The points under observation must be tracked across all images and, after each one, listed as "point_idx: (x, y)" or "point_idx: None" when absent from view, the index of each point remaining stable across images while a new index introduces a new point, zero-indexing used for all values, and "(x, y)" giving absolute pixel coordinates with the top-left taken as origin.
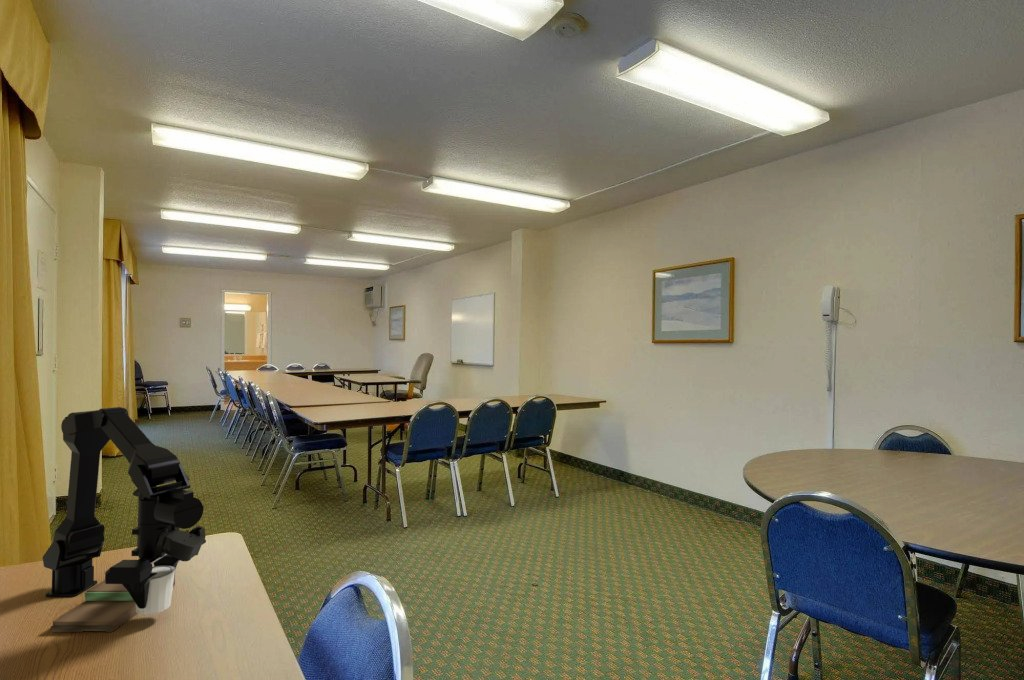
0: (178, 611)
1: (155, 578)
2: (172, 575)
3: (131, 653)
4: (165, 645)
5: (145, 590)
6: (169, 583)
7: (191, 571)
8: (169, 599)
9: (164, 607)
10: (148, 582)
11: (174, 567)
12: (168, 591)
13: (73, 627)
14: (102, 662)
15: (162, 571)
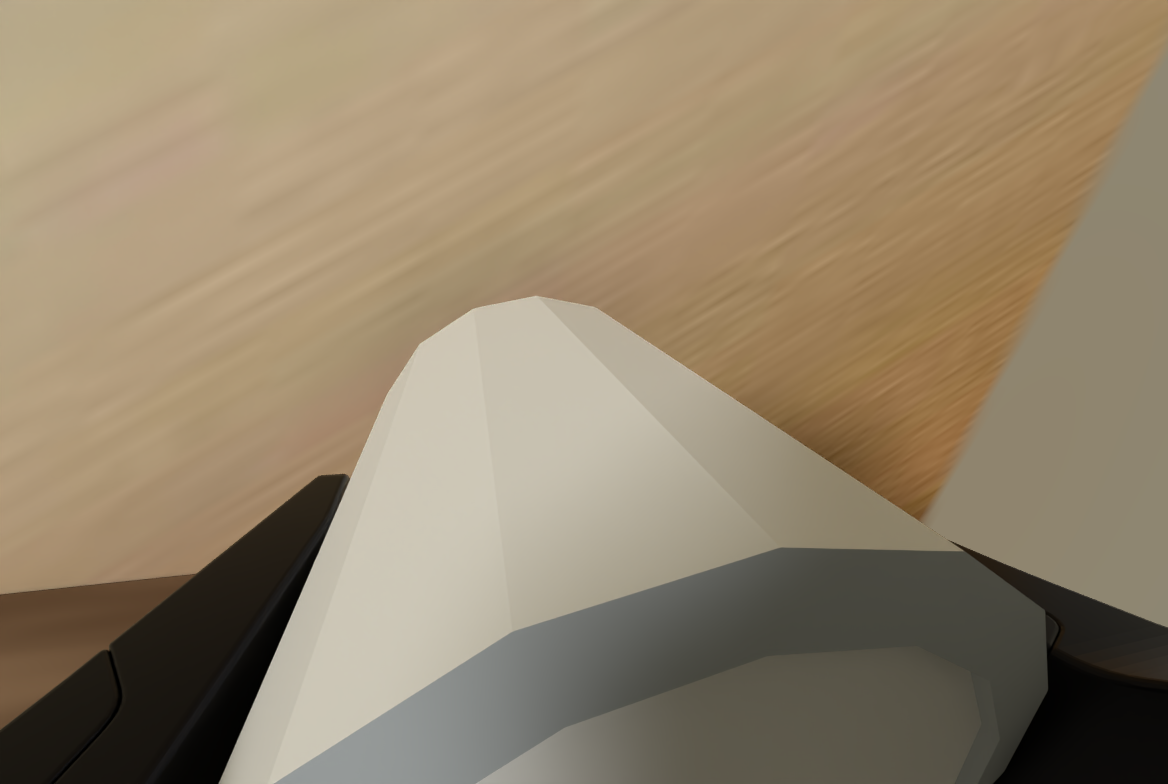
0: (339, 262)
1: (1044, 662)
2: (681, 484)
3: (918, 263)
4: (909, 60)
5: (993, 562)
6: (688, 405)
7: None
8: (549, 315)
9: (599, 313)
10: (1100, 654)
11: (307, 769)
12: (625, 356)
13: None
14: (945, 366)
15: None
